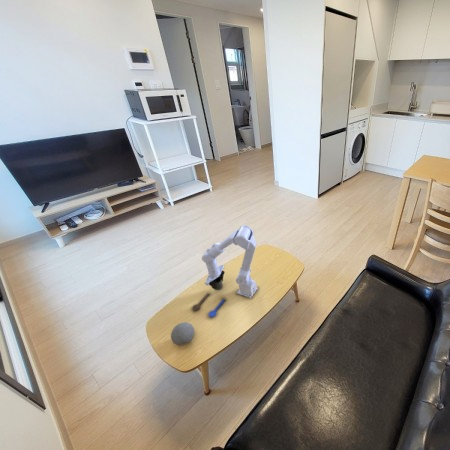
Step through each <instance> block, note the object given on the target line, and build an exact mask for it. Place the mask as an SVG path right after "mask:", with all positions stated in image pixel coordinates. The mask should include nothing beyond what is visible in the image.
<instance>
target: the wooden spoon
mask: <svg viewBox="0 0 450 450" xmlns="http://www.w3.org/2000/svg"><path fill="white" fill-rule="evenodd" d="M209 296H210V293H206V295H204V297H203V298H202V299H201V300H200V301H199V302H198V303H197V304H194V305H193V306H192V311H194V312H197V311H198V310H200V308H201V305H202V304H203V303H204V301H206V300H207V298H208V297H209Z"/></svg>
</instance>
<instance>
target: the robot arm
mask: <svg viewBox="0 0 450 450" xmlns="http://www.w3.org/2000/svg"><path fill="white" fill-rule="evenodd" d="M254 236H255V235H254V230H253V229H252V228H251V227H250V226H248V225H241V226H240V227H239V228H236V229H235V230H234V231H233V232H232V233H231V234H229V235H228V236H227V237H226V238H225V239H224V240H223V241H221V242H216V243H213V244H212V245H211V246H210V248H207V249H206V250H205V252H204V253H203V255H202V257H201V260H202V262H204V263H205V266H206V269H207V273H208V276H207V278H206V280H205V281H204V285H205V286H210V287H211V288H212V290H215V291H217V290H216V282H215V281H214V279H216V278H217V277H221V279H222V283H223V282H224V275H225V273H226V272H225V270H224V269H225V265H223V264H220V266H219V264H218V261H217V257H219V256H220V255H221V254H223V253H225V250H226V248H228V247H229V246H231V245H235V246H238V247H240V248H242V249H243V250H245V252H244V255H243V259H242V262H241V267H240V269H239V271H238V274H237V276H236V278H235V282H236V284H237V285H238V288H239V289H238V290H237V292H236V294H238V295H241V296H244V297H246V298H250V299H251V298H252V297H253V296H254V294H255V293H256V291H257V290H258V289H259V288H258V286H257V281H256V280H253V279H252V278H251V273H252V269H251V266H252V262H253V259H254V256H255V252H256V249H257V242H256V239H255V237H254Z"/></svg>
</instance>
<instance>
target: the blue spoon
mask: <svg viewBox="0 0 450 450" xmlns="http://www.w3.org/2000/svg"><path fill="white" fill-rule="evenodd" d="M225 301H226V299H224V298H223V299H222V300H221V301H220V302H219V304H218V305H217V306H216V307H215V308H214V310H211V311H209V312H208V317H209V318H214V317H216V315H217V311H218V310H219V308H221V306H222V305H223V304H224V302H225Z"/></svg>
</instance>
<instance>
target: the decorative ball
mask: <svg viewBox="0 0 450 450" xmlns="http://www.w3.org/2000/svg"><path fill="white" fill-rule="evenodd" d="M194 336H195V328H194V326H193V325H192V323H190V322H185V321H184V322H180V323H178V324H176V325H174V327H173V329H172V330H171V333H170V339H171V341H172V343H173V344H175V345H176V346H186V345H188V344H189V343H190V342H191V341H192V340H193V338H194Z"/></svg>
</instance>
